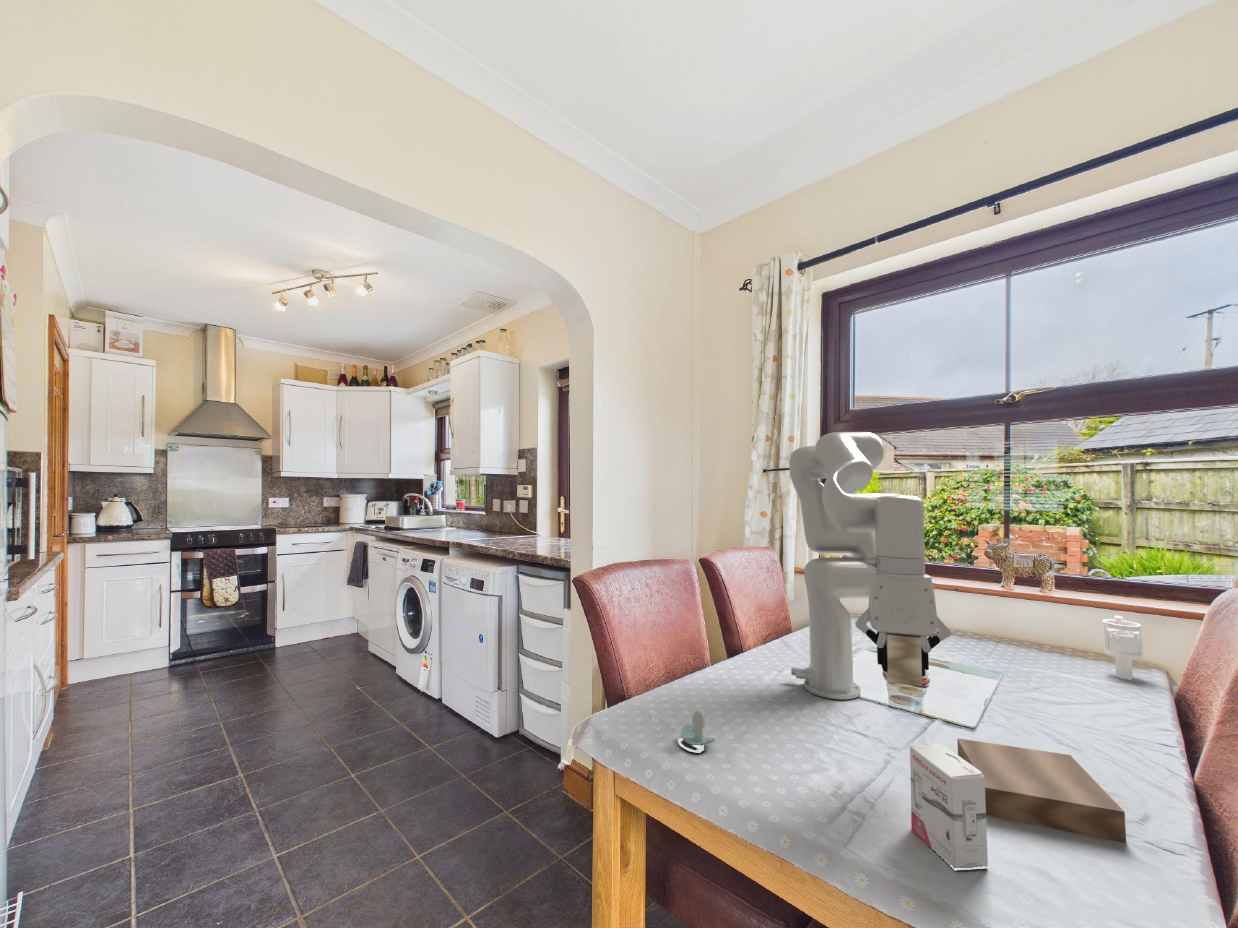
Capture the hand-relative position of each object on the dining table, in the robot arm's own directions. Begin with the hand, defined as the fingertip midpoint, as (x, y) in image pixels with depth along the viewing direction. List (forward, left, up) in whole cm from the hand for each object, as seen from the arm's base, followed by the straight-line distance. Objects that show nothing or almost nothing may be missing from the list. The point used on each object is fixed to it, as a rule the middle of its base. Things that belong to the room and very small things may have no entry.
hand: (902, 669), depth 88 cm
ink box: (+2, -19, -17) cm, 26 cm away
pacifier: (-36, -5, -17) cm, 40 cm away
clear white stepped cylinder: (+59, +69, -17) cm, 92 cm away
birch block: (0, 0, -2) cm, 2 cm away
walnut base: (+17, -1, -17) cm, 24 cm away
